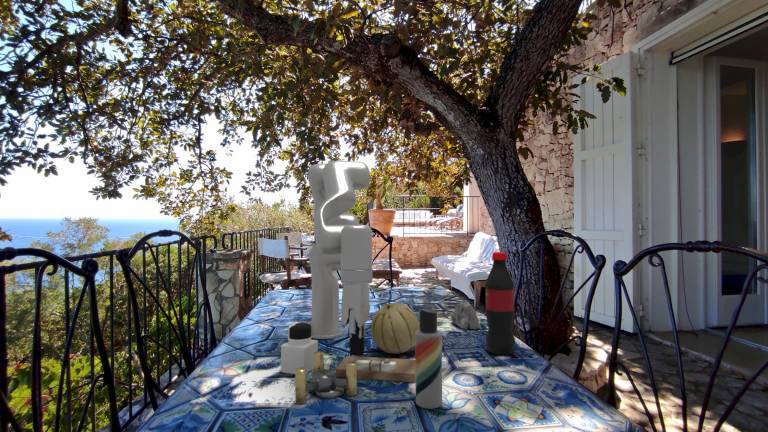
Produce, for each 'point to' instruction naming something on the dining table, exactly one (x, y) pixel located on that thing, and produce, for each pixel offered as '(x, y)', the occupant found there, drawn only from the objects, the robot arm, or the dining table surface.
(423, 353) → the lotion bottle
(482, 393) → the dining table surface
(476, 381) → the dining table surface
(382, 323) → the cantaloupe
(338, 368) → the level board
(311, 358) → the medicine bottle
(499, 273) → the cola bottle
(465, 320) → the mineral rock
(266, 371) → the dining table surface
